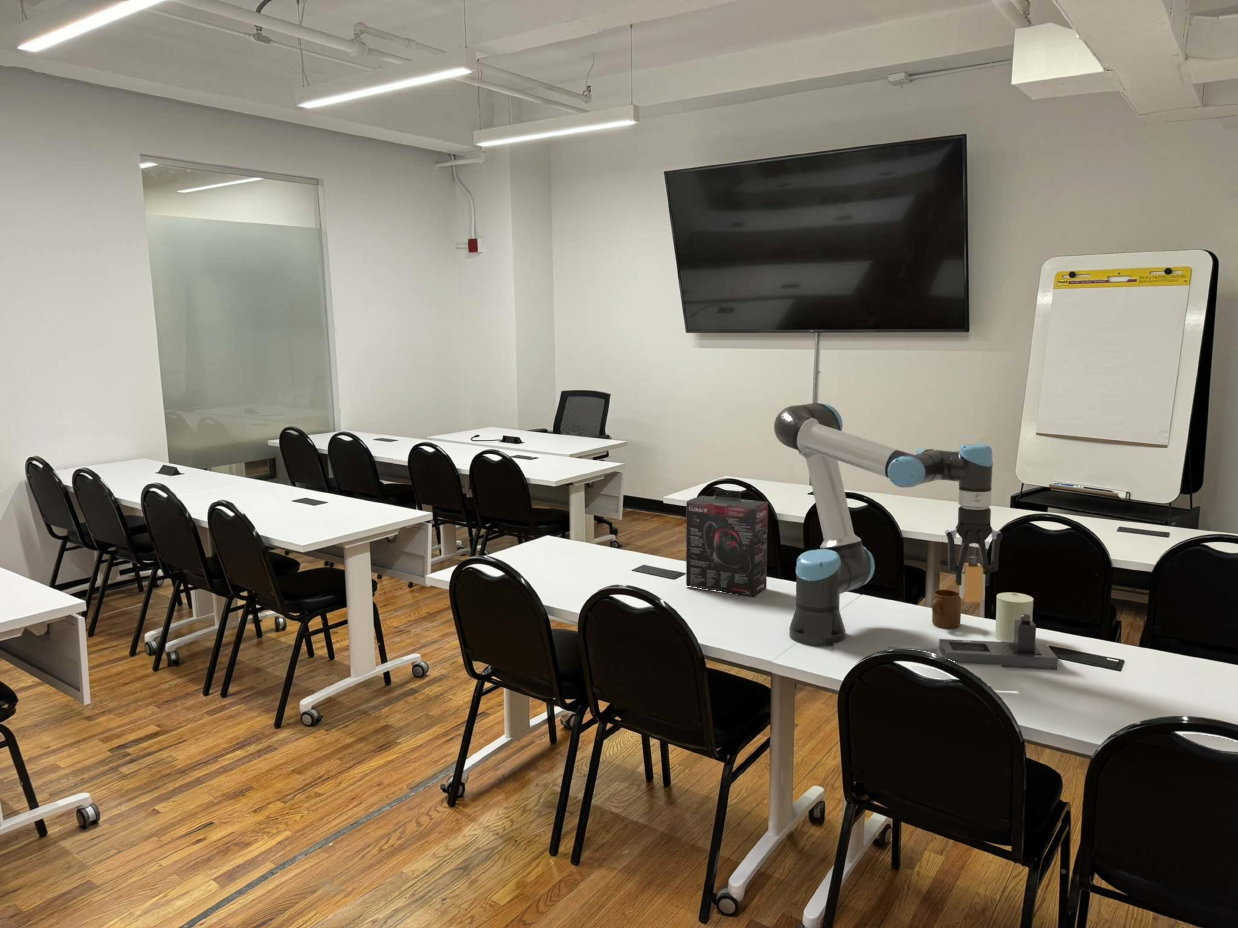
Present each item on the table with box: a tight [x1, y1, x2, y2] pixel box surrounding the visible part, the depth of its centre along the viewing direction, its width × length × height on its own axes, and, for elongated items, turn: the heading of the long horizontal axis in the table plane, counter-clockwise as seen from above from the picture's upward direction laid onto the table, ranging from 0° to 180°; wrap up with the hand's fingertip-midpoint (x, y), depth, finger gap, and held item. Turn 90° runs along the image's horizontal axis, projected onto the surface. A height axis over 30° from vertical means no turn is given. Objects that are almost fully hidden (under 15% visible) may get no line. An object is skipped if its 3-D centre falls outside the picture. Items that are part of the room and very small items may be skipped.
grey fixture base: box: [938, 614, 1059, 671], centre depth 217 cm, size 26×10×12 cm, turn 79°
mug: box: [931, 589, 962, 630], centre depth 243 cm, size 12×8×9 cm, turn 135°
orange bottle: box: [962, 555, 983, 603], centre depth 216 cm, size 4×4×11 cm
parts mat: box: [887, 646, 939, 656], centre depth 221 cm, size 12×10×1 cm
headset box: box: [685, 488, 769, 598], centre depth 282 cm, size 25×12×33 cm, turn 60°
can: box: [994, 591, 1034, 642], centre depth 232 cm, size 9×9×12 cm
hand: (971, 597), depth 217 cm, fingers closed on orange bottle, 4 cm apart
